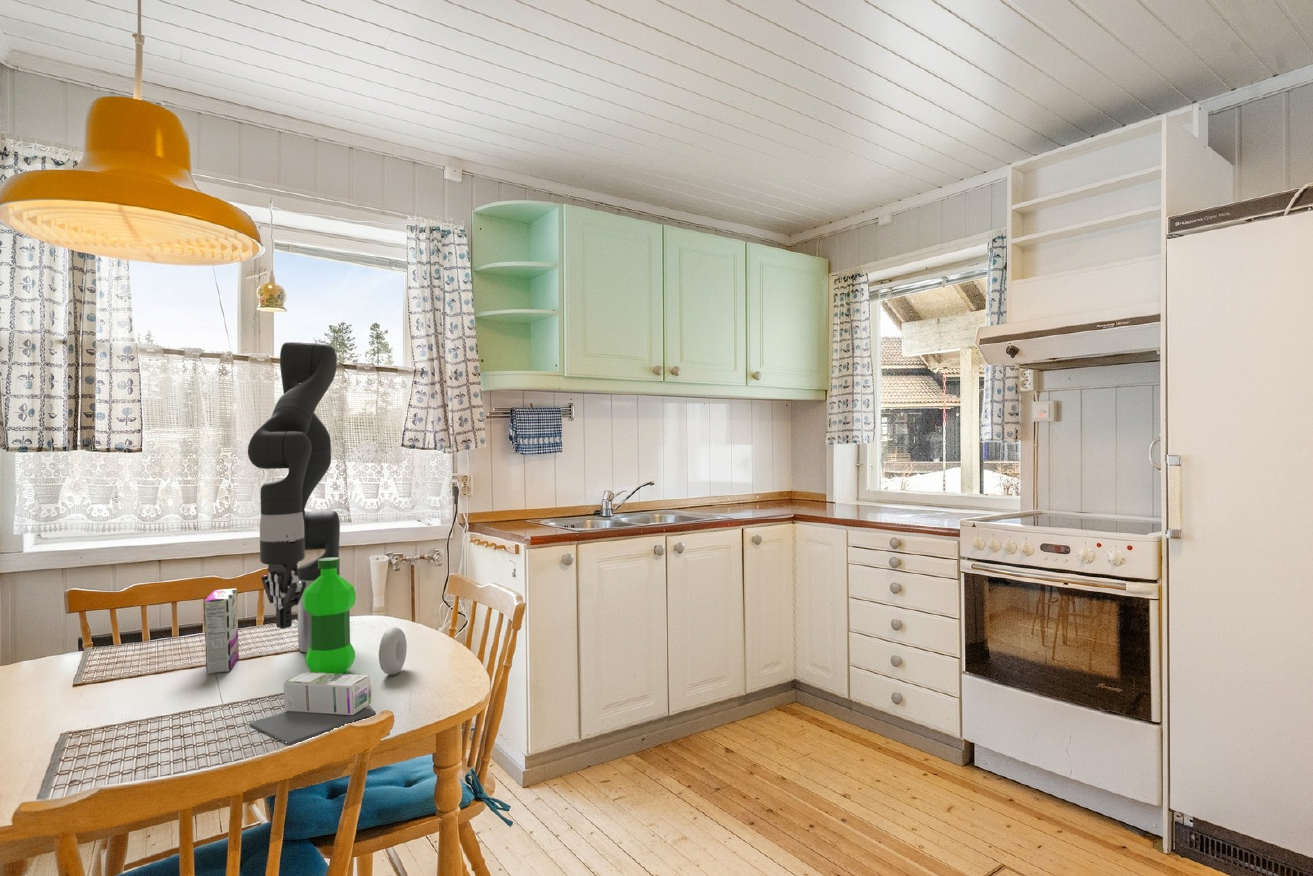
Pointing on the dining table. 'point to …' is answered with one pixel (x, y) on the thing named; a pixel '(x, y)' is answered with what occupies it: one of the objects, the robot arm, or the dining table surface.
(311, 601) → the plastic bottle
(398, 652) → the donut
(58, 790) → the dining table surface
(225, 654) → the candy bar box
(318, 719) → the mat
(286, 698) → the syrup box
